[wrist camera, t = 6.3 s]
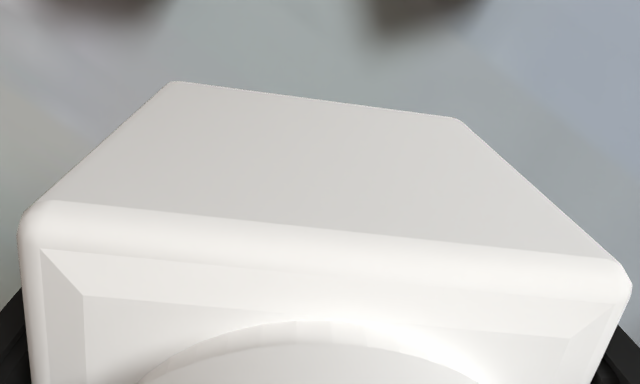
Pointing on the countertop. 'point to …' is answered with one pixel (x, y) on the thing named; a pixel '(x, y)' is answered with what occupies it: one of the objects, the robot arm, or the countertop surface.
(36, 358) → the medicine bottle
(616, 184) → the countertop surface
